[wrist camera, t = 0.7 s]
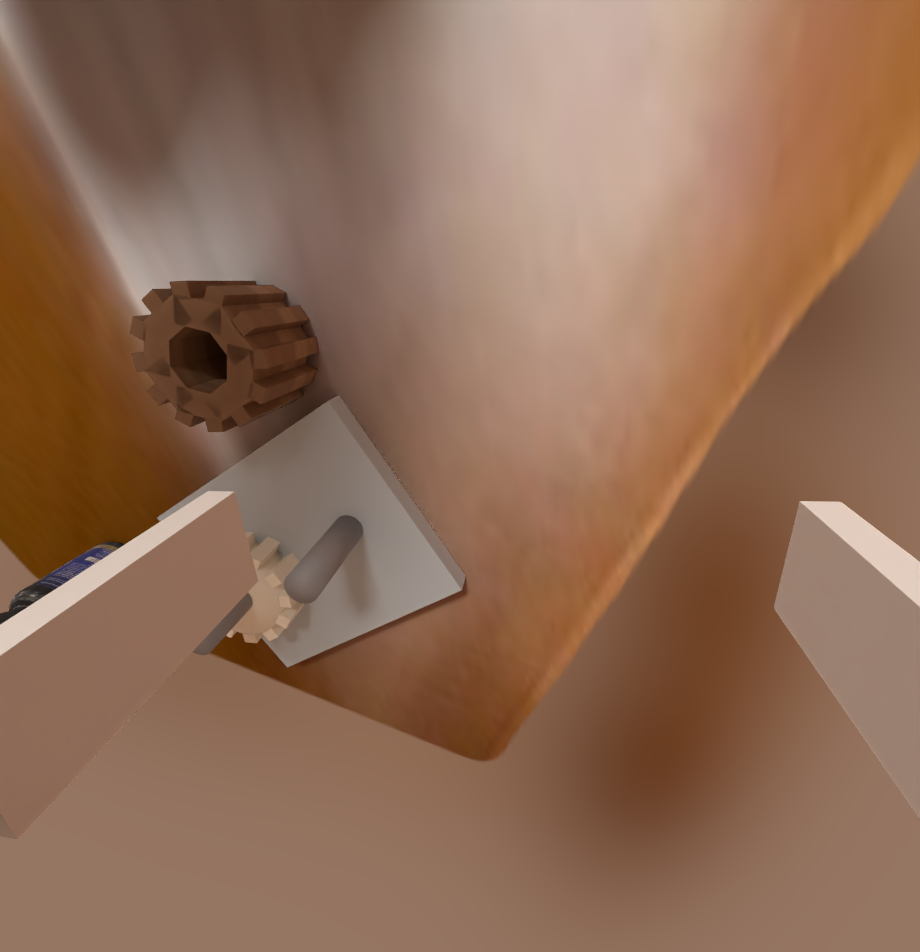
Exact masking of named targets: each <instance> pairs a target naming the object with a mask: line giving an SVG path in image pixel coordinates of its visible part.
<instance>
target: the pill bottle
mask: <svg viewBox="0 0 920 952" xmlns="http://www.w3.org/2000/svg"><path fill="white" fill-rule="evenodd" d="M122 546H123V544H120V543H117V542H104V543H102V544H99V545H96V546H95V547H93V548H92V549H90V550H88V551H87V552H85V553H83V554H82V555H80V556H78V557H77V558H75V559H73V560H72V561H70V562H68V563H67V564H65V565H63V566H62V567H60V568H58V569H57V570H55V571H53V572H52V573H50V574H48V575H47V576H45V577H43V578H42V579H40V580H38V581H37V582H35V583H33V584H32V585H30V586H28V587H26V588H25V589H23V590H22V591H20V592H19V593H18V594H16V595H15V597H14V598H13V599H12V601H11V604H10V607H9V612H4V613H0V625H1V624H2V623H4V622H5V621H7V620H8V619H10V618H11V617H13V616H15V615H16V614H18V613H19V612H21V611H22V610H24V609H25V608H27V607H29V606H30V605H32V604H33V603H35V602H36V601H38V600H39V599H41V598H43V597H44V596H46V595H47V594H49V593H50V592H52V591H53V590H55V589H57V588H58V587H60V586H61V585H63V584H64V583H66V582H67V581H69V580H71V579H72V578H74V577H75V576H77V575H78V574H80V573H81V572H83V571H85V570H86V569H88V568H89V567H91V566H92V565H94V564H95V563H97V562H99V561H100V560H102V559H103V558H105V557H106V556H108V555H109V554H111V553H113V552H114V551H116V550H117V549H119V548H120V547H122Z"/></svg>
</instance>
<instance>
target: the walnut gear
mask: <svg viewBox="0 0 920 952" xmlns="http://www.w3.org/2000/svg"><path fill="white" fill-rule="evenodd" d="M170 286H171V289H152V290H151V291H150V292H149V293H148V294H147V295H146V296H145V297H144V298H143V299H142V301H143V303H144V304H145V305H146V307H147V308H148V309H149V310H150V312H151V313H152V314H151V315H144V316H133V319H132V324H131V330H130V334H132V335H134V336H136V337H138V338H140V339H142V340H143V341H144V352H139V353H133V354H132V357H133V360H134V364H135V367H136V370H137V372H143V371H146V372H147V373H148V375H149V376H150V377H151V378H152V380H153V381H154V382H155V383H156V384H155V385H154V386H152V387H151V388H150V389H149V390H148V392H149V394H150V395H151V396H152V397H153V399H154V400H155V401H156V402H157V404H158V405H162V404H165V403H168V402H171V403H172V404H173V406H174V407H175V408H176V409H177V413H176V417H175V419H176V420H178V421H180V422H182V423H184V424H186V425H187V426H189V427H192V426H194V425H196V424H199V423H201V422H204V421H206V425H207V429H208V432H224V431H227V430H229V429H231V428H233V427H235V426H237V425H238V426H239V427H241V426H243V425H245V424H247V423H249V422H251V421H253V420H255V419H258V418H260V417H262V416H264V415H266V414H268V413H270V412H272V411H274V410H276V409H279V408H281V407H283V406H285V405H287V404H289V403H291V402H293V401H295V400H296V399H298V398H299V397H300V396H302V395H303V393H302V391H301V390H300V389H299V388H301V387H303V386H305V385H308V384H310V383H312V382H313V380H314V377H315V374H316V372H317V369H315V368H314V367H312V366H310V365H308V364H306V360H307V356H309V355H312V354H316V353H319V351H318V345H317V338H316V337H307V335H306V334H305V333H304V331H303V330H302V328H301V327H300V326H301V325H303V324H304V323H305V322H307V321H308V320H309V318H308V317H307V315H306V314H305V313H304V311H303V310H302V308H301V307H300V306H291V307H286V305H285V304H284V302H283V300H284V297H285V294H286V293H285V292H283V291H282V290H280V289H278V288H276V287H274V286H273V285H256V283H255V281H175V282H170Z"/></svg>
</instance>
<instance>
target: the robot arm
mask: <svg viewBox="0 0 920 952" xmlns="http://www.w3.org/2000/svg"><path fill="white" fill-rule="evenodd" d="M257 582H258V578H257V574H256V570H255V567H254V563H253V559H252V555H251V552H250V548H249V544H248V540H247V536H246V533H245V529H244V525H243V521H242V518H241V514H240V510H239V506H238V502H237V499H236V495H235V492H232V491H207V492H206V493H204V494H203V495H201V496H200V497H198V498H196V499H195V500H193V501H192V502H190V503H189V504H187V505H186V506H184V507H183V508H181V509H179V510H178V511H176V512H175V513H173V514H172V515H170V516H169V517H167V518H165V519H164V520H162V521H161V522H159V523H158V524H156V525H155V526H153V527H151V528H150V529H148V530H147V531H145V532H144V533H142V534H141V535H139V536H137V537H136V538H134V539H133V540H131V541H130V542H128V543H127V544H125V545H123V546H122V547H120V548H119V549H117V550H116V551H114V552H113V553H111V554H109V555H108V556H106V557H105V558H103V559H102V560H100V561H99V562H97V563H95V564H94V565H92V566H91V567H89V568H88V569H86V570H85V571H83V572H81V573H80V574H78V575H77V576H75V577H74V578H72V579H71V580H69V581H67V582H66V583H64V584H63V585H61V586H60V587H58V588H57V589H55V590H53V591H52V592H50V593H49V594H47V595H46V596H44V597H43V598H41V599H39V600H38V601H36V602H35V603H33V604H32V605H30V606H29V607H27V608H25V609H24V610H22V611H21V612H19V613H18V614H16V615H15V616H13V617H11V618H10V619H8V620H7V621H5V622H4V623H2V624H1V625H0V836H2V837H8V838H14V839H18V838H19V837H20V836H21V835H22V834H23V833H24V832H25V831H26V830H27V829H28V828H29V826H30V825H31V824H32V823H33V822H34V821H35V820H36V819H37V818H38V817H39V816H40V815H41V813H42V812H43V811H44V810H45V809H46V808H47V807H48V806H49V805H50V804H51V803H52V802H53V801H54V800H55V799H56V797H57V796H58V795H59V794H60V793H61V792H62V791H63V790H64V789H65V788H66V787H67V786H68V785H69V784H70V783H71V781H72V780H73V779H74V778H75V777H76V776H77V775H78V774H79V773H80V772H81V771H82V770H83V769H84V767H85V766H86V765H87V764H88V763H89V762H90V761H91V760H92V759H93V758H94V757H95V755H97V754H98V752H99V751H100V750H101V749H102V748H103V747H104V746H105V745H106V744H107V743H108V742H109V741H110V740H111V738H112V737H113V736H114V735H115V734H116V733H117V732H118V731H119V730H120V729H121V728H122V727H123V726H124V725H125V724H126V722H127V721H128V720H129V719H130V718H131V717H132V716H133V715H134V714H135V713H136V712H137V711H138V710H139V708H140V707H141V706H142V705H143V704H144V703H145V702H146V701H147V700H148V699H149V698H150V697H151V696H152V695H153V693H154V692H155V691H156V690H157V689H158V688H159V687H160V686H161V685H162V684H163V683H164V682H165V681H166V679H168V677H169V676H170V675H171V674H172V673H173V672H174V671H175V670H176V669H177V668H178V667H179V666H180V664H181V663H182V662H183V661H184V660H185V659H186V658H187V657H188V656H189V655H190V654H191V652H193V651H194V650H195V648H196V647H197V646H198V645H199V644H200V643H201V642H202V641H203V640H204V639H205V638H206V637H207V636H208V635H209V633H210V632H211V631H212V630H213V629H214V628H215V627H216V626H217V625H218V624H219V623H220V622H221V621H222V620H223V618H224V617H225V616H226V615H227V614H228V613H229V612H230V611H231V610H232V609H233V608H234V607H235V606H236V605H237V603H238V602H239V601H240V600H241V599H242V598H243V597H244V596H245V595H246V594H247V593H248V592H249V591H250V590H251V588H252V587H253V586H254V585H255V584H256V583H257ZM774 609H775V611H776V612H777V614H778V615H779V617H780V618H781V619H782V621H783V622H784V624H785V625H786V627H787V628H788V630H789V631H790V633H791V634H792V635H793V637H794V638H795V640H796V641H797V643H798V644H799V646H800V647H801V648H802V650H803V651H804V653H805V654H806V655H807V657H808V658H809V660H810V661H811V663H812V664H813V666H814V667H815V669H816V670H817V672H818V673H819V674H820V676H821V677H822V679H823V680H824V682H825V683H826V684H827V686H828V687H829V689H830V690H831V692H832V693H833V694H834V696H835V698H836V699H837V700H838V702H839V703H840V705H841V706H842V708H843V709H844V711H845V712H846V713H847V715H848V716H849V718H850V719H851V720H852V722H853V724H854V725H855V726H856V728H857V729H858V731H859V732H860V734H861V735H862V737H863V738H864V739H865V741H866V742H867V744H868V745H869V747H870V748H871V749H872V751H873V752H874V754H875V755H876V757H877V758H878V760H879V761H880V763H881V764H882V765H883V767H884V768H885V770H886V771H887V773H888V774H889V776H890V777H891V778H892V780H893V781H894V783H895V784H896V786H897V787H898V788H899V790H900V791H901V793H902V794H903V796H904V797H905V799H906V800H907V802H908V803H909V805H910V806H911V807H912V809H913V810H914V812H915V813H916V814H917V816H918V818H919V819H920V562H919V561H918V560H916V559H915V558H914V557H912V556H911V555H910V554H908V553H907V552H906V551H904V550H903V549H902V548H901V547H899V546H898V545H897V544H895V543H894V542H893V541H891V540H890V539H889V538H887V537H886V536H885V535H883V534H882V533H881V532H879V531H878V530H877V529H876V528H874V527H873V526H872V525H870V524H869V523H868V522H866V521H865V520H864V519H862V518H861V517H860V516H859V515H857V514H856V513H855V512H853V511H852V510H851V509H849V508H848V507H847V506H845V505H844V504H843V503H841V502H812V501H810V502H809V501H800V503H799V507H798V511H797V515H796V519H795V523H794V527H793V531H792V536H791V540H790V544H789V548H788V552H787V556H786V560H785V564H784V569H783V572H782V577H781V581H780V585H779V589H778V593H777V597H776V601H775V605H774Z"/></svg>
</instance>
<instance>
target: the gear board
mask: <svg viewBox="0 0 920 952" xmlns="http://www.w3.org/2000/svg"><path fill="white" fill-rule="evenodd" d="M207 491H232V492H235V495H236V499H237V502H238V506H239V510H240V514H241V518H242V521H243V525H244V529H245V533H246V536H247V540H248V544H249V548H250V552H251V555H252V559H253V563H254V567H255V570H256V574H257V578H258V582H257V583H256V584H255V585H254V586H253V587H252V588H251V590H250V591H249V592H248V593H247V594H246V595H245V596H244V597H243V598H242V599H241V600H240V601H239V602H238V603H237V605H236V606H235V607H234V608H233V609H232V610H231V611H230V612H229V613H228V614H227V615H226V616H225V617H224V618H223V620H222V621H221V622H220V623H219V624H218V625H217V626H216V627H215V628H214V629H213V630H212V631H211V632H210V633H209V635H208V636H207V637H206V638H205V639H204V640H203V641H202V642H201V643H200V644H199V645H198V646H197V647H196V648H195V650H194V651H193V652H194V653H197V654H201V655H206V654H209V653H210V652H211V651H212V650H213V649H214V648H215V647H216V646H217V645H218V644H219V643H220V641H221V640H222V639H223V638H224V637H225V636H228V637H230V638H232V636H233V635H234V634H235V633H236V632H239V633H243V637H244V640H245V642H249V643H257V642H258V641H259V640H260V638H262V639H263V640H264V641H265V643H266V644H267V645H268V646H269V647H270V648H271V649H272V651H273V652H274V653H275V654H276V655H277V656H278V657H279V659H280V660H281V661H282V662H283V663H284V664H285V665H286V667H289V666H292V665H294V664H296V663H298V662H301V661H303V660H305V659H307V658H310V657H312V656H314V655H317V654H319V653H321V652H323V651H326V650H328V649H330V648H332V647H335V646H337V645H339V644H341V643H344V642H346V641H348V640H350V639H353V638H355V637H357V636H360V635H362V634H364V633H366V632H369V631H371V630H373V629H375V628H378V627H380V626H382V625H384V624H387V623H389V622H391V621H393V620H396V619H398V618H400V617H403V616H405V615H407V614H409V613H412V612H414V611H416V610H418V609H421V608H423V607H425V606H427V605H430V604H432V603H434V602H436V601H439V600H441V599H443V598H446V597H448V596H450V595H452V594H455V593H457V592H459V591H461V590H462V588H463V585H464V581H465V577H466V576H465V574H464V573H463V571H462V570H461V569H460V567H459V566H458V564H457V563H456V561H455V560H454V559H453V557H452V556H451V554H450V553H449V551H448V550H447V549H446V547H445V546H444V544H443V543H442V541H441V540H440V538H439V537H438V536H437V534H436V533H435V531H434V530H433V528H432V527H431V526H430V524H429V523H428V521H427V520H426V518H425V517H424V516H423V514H422V513H421V511H420V510H419V508H418V507H417V506H416V504H415V503H414V501H413V500H412V498H411V497H410V496H409V494H408V493H407V491H406V490H405V488H404V487H403V486H402V484H401V483H400V481H399V480H398V478H397V477H396V476H395V474H394V473H393V471H392V470H391V468H390V467H389V466H388V464H387V463H386V461H385V460H384V458H383V457H382V456H381V454H380V453H379V451H378V450H377V448H376V447H375V446H374V444H373V443H372V441H371V440H370V438H369V437H368V436H367V434H366V433H365V431H364V430H363V428H362V427H361V426H360V424H359V423H358V421H357V420H356V418H355V417H354V416H353V414H352V413H351V411H350V410H349V408H348V407H347V406H346V404H345V403H344V401H343V400H342V398H341V397H340V396H339V395H338V396H336V397H334V398H332V399H330V400H329V401H327V402H325V403H324V404H323V405H321V406H320V407H318V408H317V409H315V410H314V411H312V412H311V413H309V414H308V415H306V416H305V417H304V418H302V419H301V420H299V421H298V422H296V423H295V424H293V425H292V426H290V427H289V428H287V429H286V430H285V431H283V432H282V433H280V434H279V435H277V436H276V437H274V438H273V439H271V440H270V441H268V442H267V443H265V444H264V445H263V446H261V447H260V448H258V449H257V450H255V451H254V452H252V453H251V454H249V455H248V456H246V457H245V458H244V459H242V460H241V461H239V462H238V463H236V464H235V465H233V466H232V467H230V468H229V469H227V470H226V471H225V472H223V473H222V474H220V475H219V476H217V477H216V478H214V479H213V480H211V481H210V482H208V483H207V484H205V485H204V486H203V487H201V488H200V489H198V490H197V491H195V492H194V493H192V494H191V495H189V496H188V497H186V498H185V499H184V500H182V501H181V502H179V503H178V504H176V505H175V506H173V507H172V508H170V509H169V510H167V511H166V512H165V513H163V514H162V515H160V516H159V517H157V518H158V520H159V521H160V522H161V521H162V520H164V519H165V518H167V517H169V516H170V515H172V514H173V513H175V512H176V511H178V510H179V509H181V508H183V507H184V506H186V505H187V504H189V503H190V502H192V501H193V500H195V499H196V498H198V497H200V496H201V495H203V494H204V493H206V492H207Z"/></svg>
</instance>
